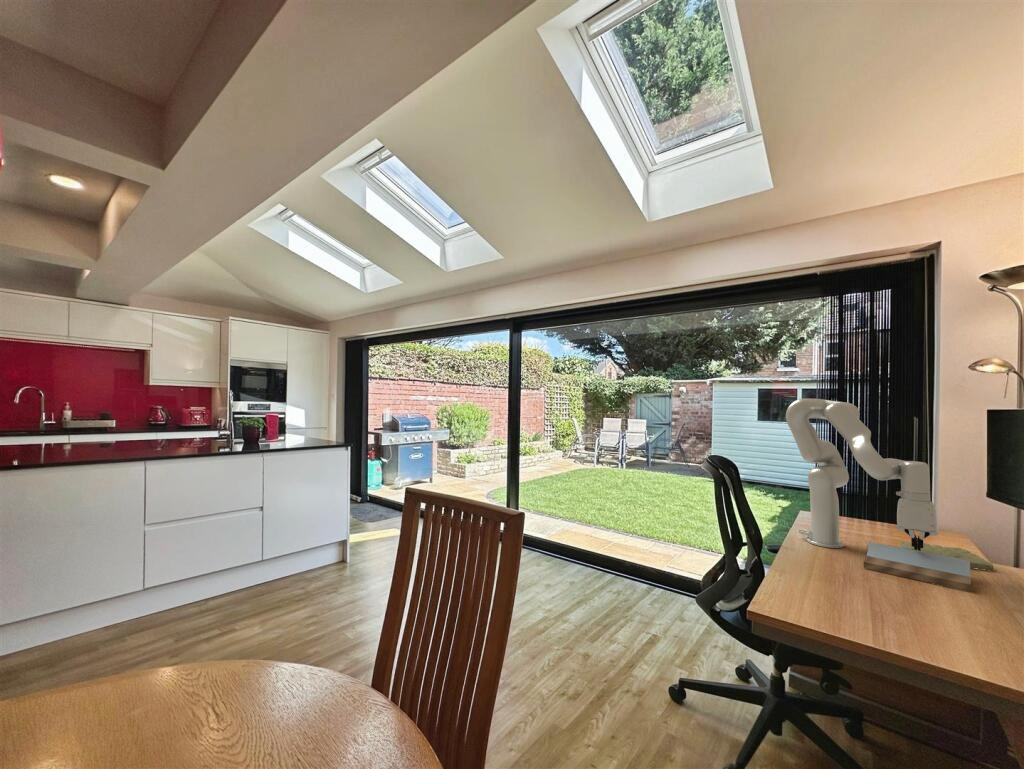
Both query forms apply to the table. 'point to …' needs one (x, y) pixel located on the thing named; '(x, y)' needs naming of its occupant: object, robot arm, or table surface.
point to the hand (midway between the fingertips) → (917, 549)
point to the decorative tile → (952, 554)
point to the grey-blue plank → (920, 559)
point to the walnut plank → (919, 573)
